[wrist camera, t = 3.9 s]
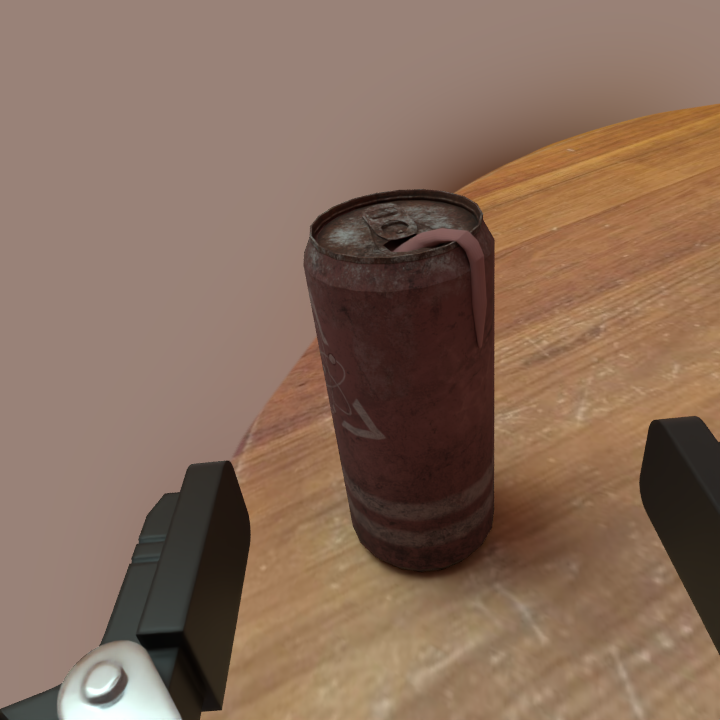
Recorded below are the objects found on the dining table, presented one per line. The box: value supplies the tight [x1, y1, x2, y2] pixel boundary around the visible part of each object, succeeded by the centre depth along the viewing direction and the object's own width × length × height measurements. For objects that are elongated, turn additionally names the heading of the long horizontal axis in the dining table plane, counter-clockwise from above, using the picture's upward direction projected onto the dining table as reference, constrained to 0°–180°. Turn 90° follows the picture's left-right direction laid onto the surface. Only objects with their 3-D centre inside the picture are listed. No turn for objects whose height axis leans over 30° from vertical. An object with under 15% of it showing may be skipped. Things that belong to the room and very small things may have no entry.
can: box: [304, 189, 494, 572], centre depth 23 cm, size 6×6×14 cm
